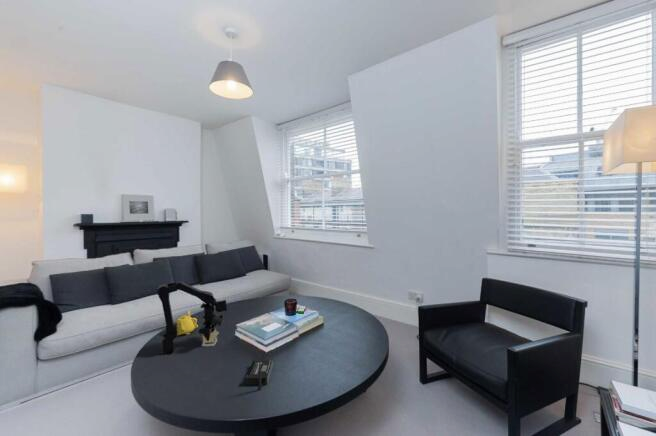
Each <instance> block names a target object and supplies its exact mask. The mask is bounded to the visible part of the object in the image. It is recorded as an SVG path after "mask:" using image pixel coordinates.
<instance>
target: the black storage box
mask: <svg viewBox="0 0 656 436" xmlns="http://www.w3.org/2000/svg"><path fill="white" fill-rule="evenodd" d="M251 362H252V363H251V364H250V367H249V369H248V372H247V373H246V375H245V378H244V386H258V390H259V391H262V388H263V386H265V385H266V386H268V384H269V380H270V376H271V373H272V370H273V365H274V359H269V358H268V359H261V354H258V359H252V361H251Z"/></svg>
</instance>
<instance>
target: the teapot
mask: <svg viewBox="0 0 656 436" xmlns="http://www.w3.org/2000/svg"><path fill="white" fill-rule="evenodd" d="M197 321H198V319H197V318H196V317H191V310H189V311H188V312H187V314H186V315H182V316H181V317H179V318H178V319H177V320H176V322H175V323H177V326H178V328H179V330H178V333H177V336H179V337H180V336H181V335H184V334H186V336H189V335H190V334H191V332H193V331H194V330H195V329H197V328H198V327H199V325H198V324H197Z"/></svg>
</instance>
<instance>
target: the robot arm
mask: <svg viewBox="0 0 656 436" xmlns="http://www.w3.org/2000/svg"><path fill="white" fill-rule="evenodd" d="M158 286H159V287H158V289H157V291H156V292H157V293H156V294H157V295H158V298H159V300H160V301H161V306H162V310H163V314H164V315H163V316H164V320H165V333H164V334H163V335H162V338H161V345H162V351H161V352H160V354H159V355H171V354H173V353H174V352H175V350H177V347H175V341H174V340H175V339H176V338H177V333H178V330H179V328H178V326H177V323H176V322H175V321H174V316H173V312H172V311H173V310H172V307H171V306H172V305H171V301H170V294H171V293H174V292H177V291H179V290H180V291H182V292H184V293H187V294H188V295H191V296H194V297H196V298H197V299H199V300H200V301H201V302H202V304H201V305H200V308H201V309H203V316H202V319H203V323H202V325H203V326H201V327H200V328H199V329H198V334H200V335H201V334H202V336H203V335H204V337H205V338H206V340H207V341H209V337H210V332H211V331H212V330H211V329H213V328H216V326H218V327H221V326H223V323H224V321H225V317H224V315H223V314H220V315H217V314H216V313H222V312H227V311H228V306H227V300H226V299H223V300H217V299H216V298H215V296H214V294H213V293H212V292H211V291H206V290H201V289H199V288H197V287H194V286H192V285H190V284H188V283H185V282H183V281H182V280H181V281H180V280H178V281H176V282H170V283H163V284H160V285H158ZM215 312H216V313H215Z"/></svg>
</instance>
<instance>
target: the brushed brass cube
mask: <svg viewBox="0 0 656 436" xmlns="http://www.w3.org/2000/svg"><path fill="white" fill-rule="evenodd" d="M211 330H212V331H211V332H210V337H209V341H207V340H206V338H205V337H204V335H203V334H202V343H208V342H214V340H215V339H216V338H217V337H216V332H217V328H216V327H214V328H213V329H211Z"/></svg>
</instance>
